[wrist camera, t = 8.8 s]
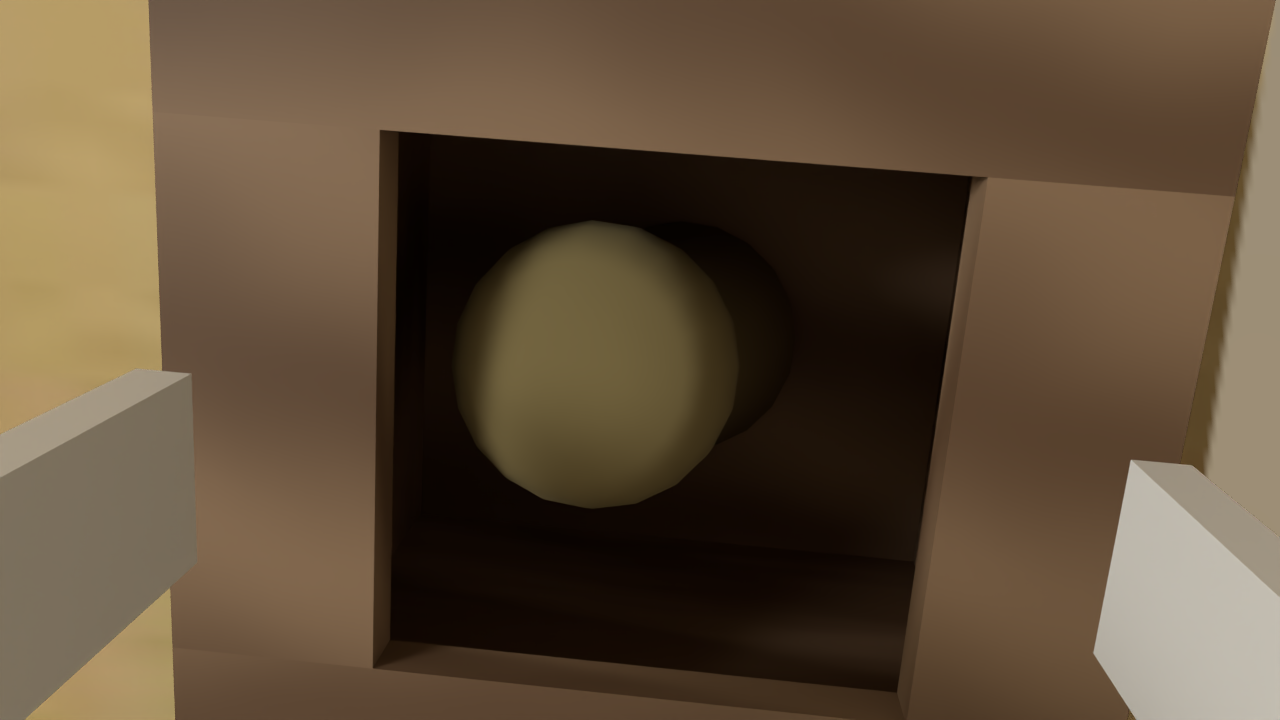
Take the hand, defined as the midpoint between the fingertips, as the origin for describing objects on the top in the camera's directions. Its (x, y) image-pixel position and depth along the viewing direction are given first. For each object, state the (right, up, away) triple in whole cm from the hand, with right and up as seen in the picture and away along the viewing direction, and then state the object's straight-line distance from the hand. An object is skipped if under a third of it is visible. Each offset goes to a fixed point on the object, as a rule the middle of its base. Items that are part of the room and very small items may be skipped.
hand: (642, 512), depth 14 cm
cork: (+1, +3, +15) cm, 15 cm away
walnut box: (+1, +4, +15) cm, 16 cm away
